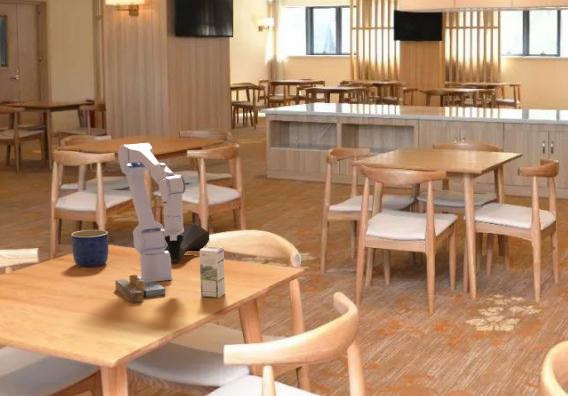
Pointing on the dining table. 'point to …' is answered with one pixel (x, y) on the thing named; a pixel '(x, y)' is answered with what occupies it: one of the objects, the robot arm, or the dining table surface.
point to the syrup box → (212, 272)
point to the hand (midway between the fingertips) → (174, 259)
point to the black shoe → (191, 240)
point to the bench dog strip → (131, 289)
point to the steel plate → (153, 289)
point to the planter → (90, 247)
